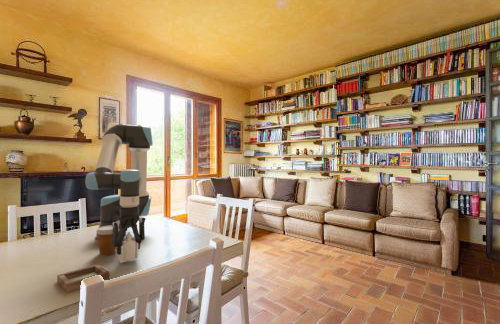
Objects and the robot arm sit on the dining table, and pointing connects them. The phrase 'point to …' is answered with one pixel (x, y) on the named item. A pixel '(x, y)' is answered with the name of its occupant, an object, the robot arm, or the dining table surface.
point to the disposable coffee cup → (106, 240)
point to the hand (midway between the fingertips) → (128, 259)
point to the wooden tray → (80, 277)
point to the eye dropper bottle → (129, 248)
